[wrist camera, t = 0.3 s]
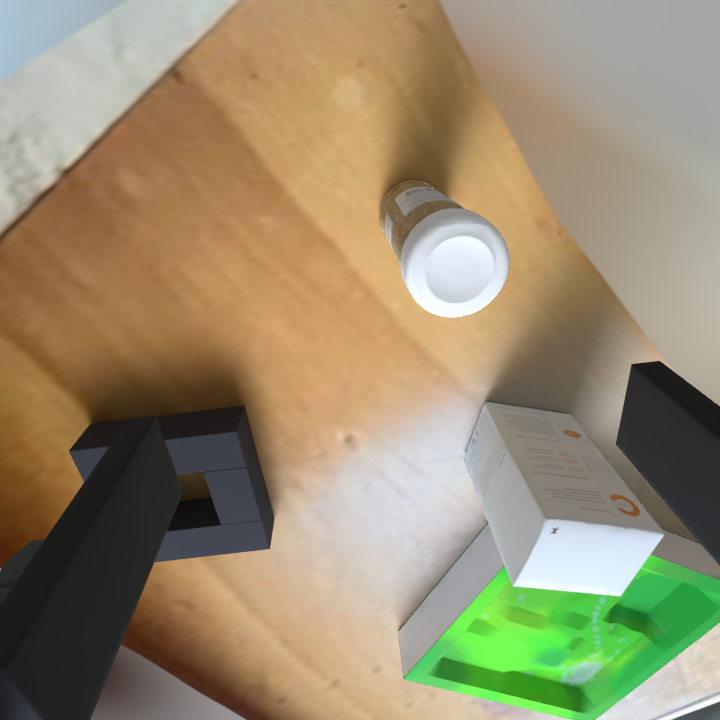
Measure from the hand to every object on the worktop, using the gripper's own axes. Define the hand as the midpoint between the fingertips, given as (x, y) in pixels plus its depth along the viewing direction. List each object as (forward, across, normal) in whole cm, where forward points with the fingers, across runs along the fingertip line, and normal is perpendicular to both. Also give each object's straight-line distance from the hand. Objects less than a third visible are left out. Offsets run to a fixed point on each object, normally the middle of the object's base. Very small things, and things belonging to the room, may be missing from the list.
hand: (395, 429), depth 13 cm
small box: (+22, +12, -18) cm, 31 cm away
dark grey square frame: (+22, -17, -19) cm, 33 cm away
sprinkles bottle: (+22, +4, +2) cm, 22 cm away
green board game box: (+22, +17, -40) cm, 49 cm away
